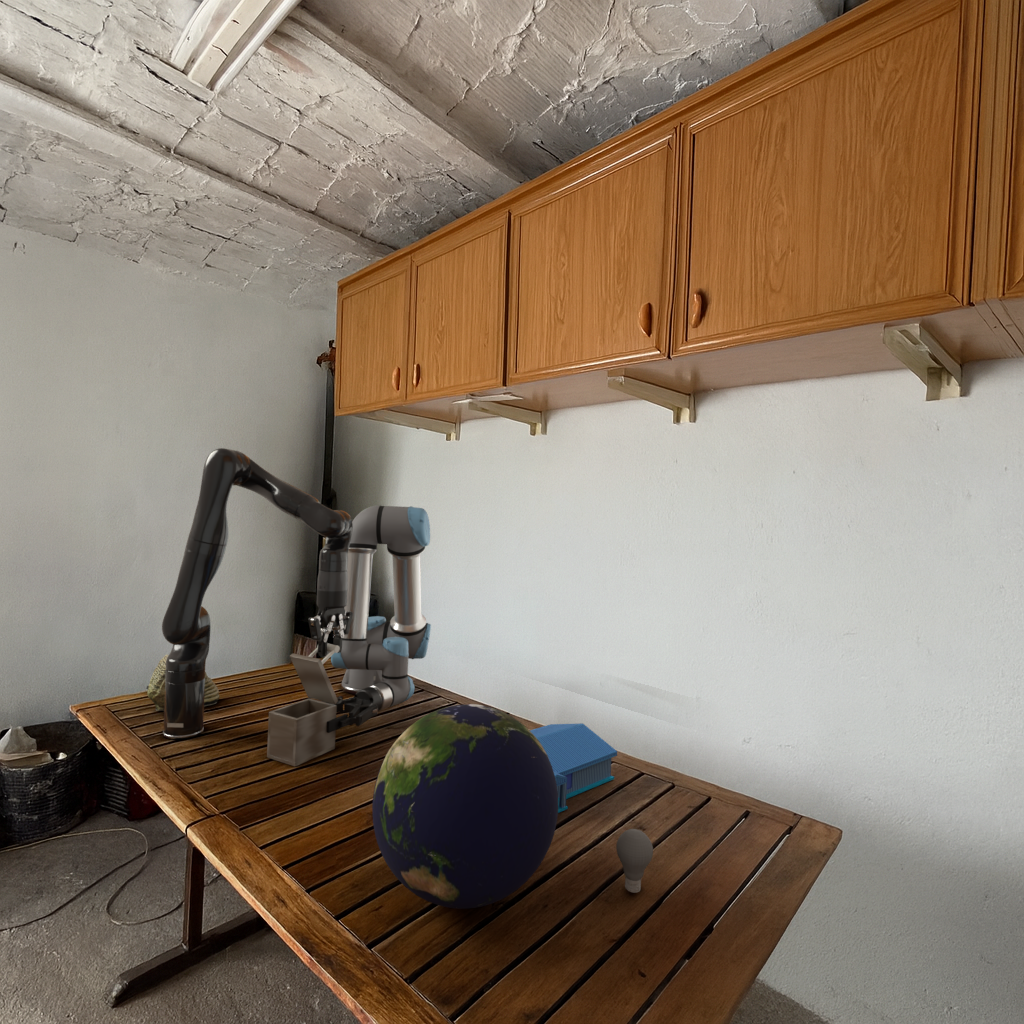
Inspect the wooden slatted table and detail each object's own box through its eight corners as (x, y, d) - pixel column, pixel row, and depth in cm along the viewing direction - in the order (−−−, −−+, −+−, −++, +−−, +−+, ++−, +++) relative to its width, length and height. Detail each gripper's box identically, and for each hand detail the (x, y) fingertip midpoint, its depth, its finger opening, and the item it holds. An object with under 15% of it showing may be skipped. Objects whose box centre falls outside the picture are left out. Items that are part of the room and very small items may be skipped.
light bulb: (610, 879, 108) (613, 822, 108) (644, 879, 109) (647, 822, 109) (619, 902, 102) (622, 840, 102) (655, 901, 103) (658, 840, 103)
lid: (317, 662, 152) (341, 638, 159) (289, 656, 157) (313, 633, 164) (335, 704, 159) (357, 680, 165) (307, 697, 163) (330, 674, 170)
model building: (497, 839, 120) (500, 786, 120) (424, 791, 138) (425, 745, 138) (625, 783, 146) (627, 740, 146) (549, 749, 164) (551, 711, 164)
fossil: (144, 707, 182) (145, 655, 182) (212, 696, 194) (213, 647, 194) (151, 716, 175) (153, 662, 175) (221, 703, 188) (223, 653, 188)
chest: (295, 766, 148) (296, 719, 148) (266, 757, 152) (268, 711, 152) (334, 748, 159) (336, 705, 159) (307, 740, 164) (309, 698, 163)
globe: (328, 919, 95) (336, 721, 95) (427, 827, 123) (434, 674, 122) (512, 985, 84) (522, 760, 83) (576, 867, 112) (584, 698, 111)
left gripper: (322, 592, 154) (320, 662, 154) (362, 586, 167) (360, 651, 167) (300, 589, 158) (298, 657, 158) (341, 583, 170) (338, 646, 171)
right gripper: (403, 721, 173) (345, 747, 153) (342, 705, 184) (280, 728, 164) (404, 693, 173) (346, 717, 153) (343, 679, 183) (282, 699, 164)
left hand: (330, 653), depth 163 cm, fingers open, 4 cm apart
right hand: (312, 722), depth 158 cm, fingers closed on chest, 9 cm apart
